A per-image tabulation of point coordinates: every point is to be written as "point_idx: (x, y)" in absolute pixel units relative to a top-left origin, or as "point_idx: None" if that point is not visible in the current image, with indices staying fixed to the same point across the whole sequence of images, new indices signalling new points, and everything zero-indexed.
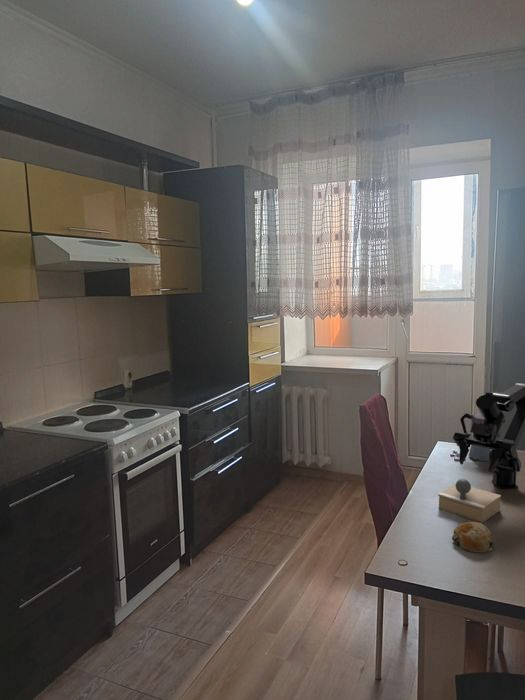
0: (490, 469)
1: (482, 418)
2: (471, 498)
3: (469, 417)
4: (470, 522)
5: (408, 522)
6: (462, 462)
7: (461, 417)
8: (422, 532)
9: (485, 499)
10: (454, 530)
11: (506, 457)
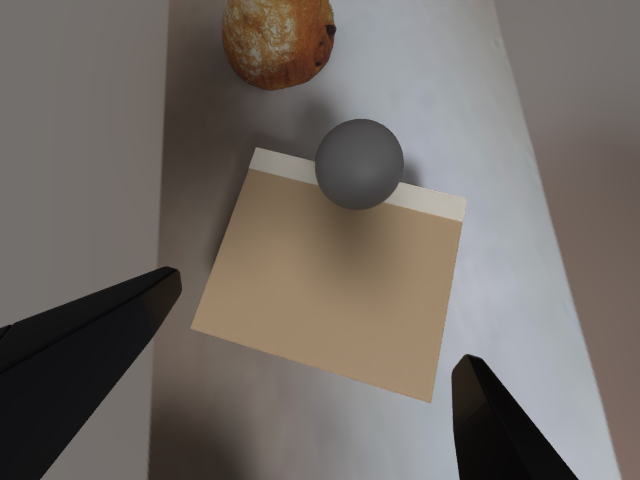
0: (153, 274)
1: None
2: (317, 221)
3: None
4: None
5: (482, 82)
6: (459, 396)
7: None
8: (422, 46)
9: (257, 239)
10: (330, 10)
11: None
